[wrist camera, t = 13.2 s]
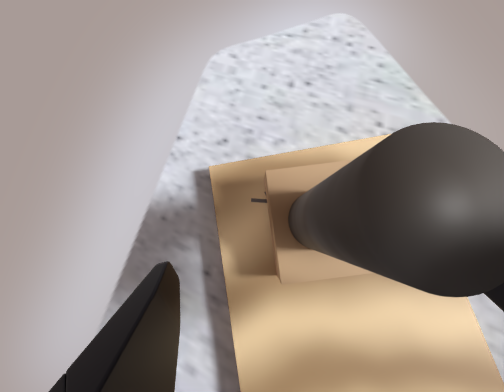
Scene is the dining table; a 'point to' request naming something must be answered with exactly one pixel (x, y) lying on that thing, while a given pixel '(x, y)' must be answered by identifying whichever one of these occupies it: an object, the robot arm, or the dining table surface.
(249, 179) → the pine board
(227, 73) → the dining table surface
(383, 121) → the dining table surface
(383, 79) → the dining table surface
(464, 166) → the rubber stamp
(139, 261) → the dining table surface
